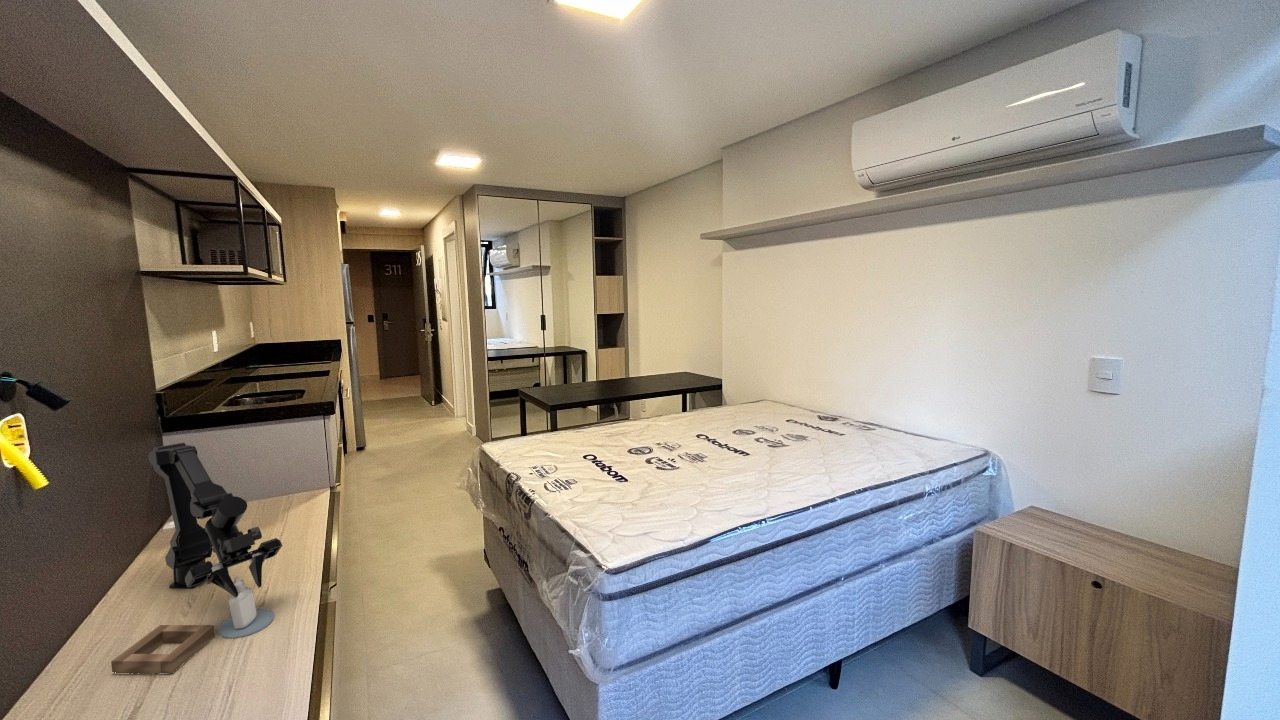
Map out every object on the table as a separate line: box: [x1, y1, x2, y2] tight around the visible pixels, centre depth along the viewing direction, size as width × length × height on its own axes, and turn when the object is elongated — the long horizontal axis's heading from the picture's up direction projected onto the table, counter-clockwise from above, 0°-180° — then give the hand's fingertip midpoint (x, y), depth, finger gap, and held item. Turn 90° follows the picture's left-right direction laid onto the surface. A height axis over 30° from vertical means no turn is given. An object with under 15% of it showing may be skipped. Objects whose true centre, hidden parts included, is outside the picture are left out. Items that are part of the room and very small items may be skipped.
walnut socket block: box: [110, 624, 216, 675], centre depth 115 cm, size 12×12×3 cm
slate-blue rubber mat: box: [217, 608, 275, 639], centre depth 126 cm, size 11×11×1 cm
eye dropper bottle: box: [228, 576, 257, 629], centre depth 125 cm, size 4×6×12 cm
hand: (248, 591), depth 124 cm, fingers open, 4 cm apart
